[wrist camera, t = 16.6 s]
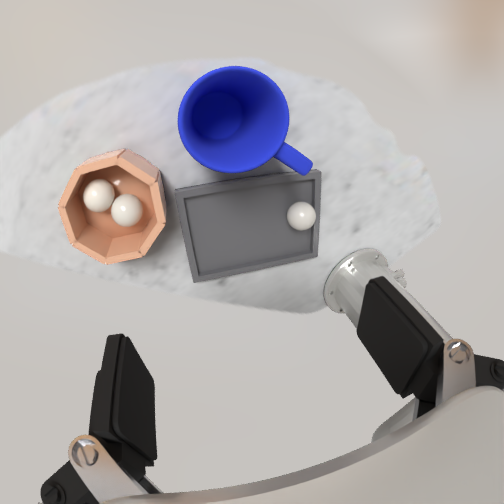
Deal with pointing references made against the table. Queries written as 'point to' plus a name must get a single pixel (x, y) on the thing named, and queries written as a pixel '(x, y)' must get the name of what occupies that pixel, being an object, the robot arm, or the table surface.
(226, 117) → the mug
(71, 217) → the bowl
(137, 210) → the white ball
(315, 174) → the tray
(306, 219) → the white ball
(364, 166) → the table surface
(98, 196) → the white ball
